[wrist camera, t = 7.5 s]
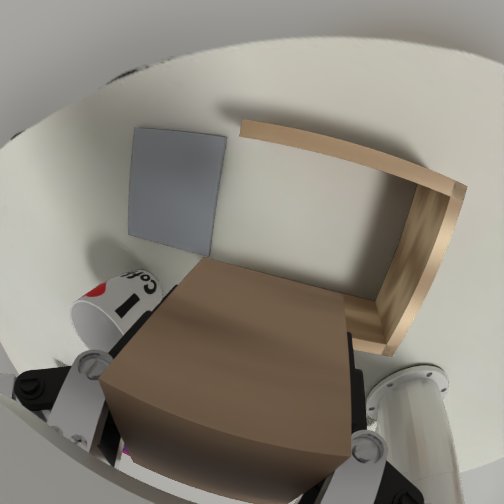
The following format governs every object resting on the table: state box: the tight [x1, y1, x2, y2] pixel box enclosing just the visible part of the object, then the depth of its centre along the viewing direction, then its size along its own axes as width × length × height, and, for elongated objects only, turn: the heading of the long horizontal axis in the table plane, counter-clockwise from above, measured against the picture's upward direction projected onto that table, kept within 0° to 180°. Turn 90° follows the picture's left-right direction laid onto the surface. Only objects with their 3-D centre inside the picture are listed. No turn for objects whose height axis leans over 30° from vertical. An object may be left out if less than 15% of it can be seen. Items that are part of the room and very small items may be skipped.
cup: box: [70, 270, 163, 353], centre depth 28 cm, size 8×8×10 cm
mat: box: [128, 128, 227, 257], centre depth 27 cm, size 12×10×1 cm
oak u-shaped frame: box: [239, 119, 467, 357], centre depth 22 cm, size 15×16×7 cm
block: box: [98, 257, 351, 504], centre depth 8 cm, size 5×5×6 cm
